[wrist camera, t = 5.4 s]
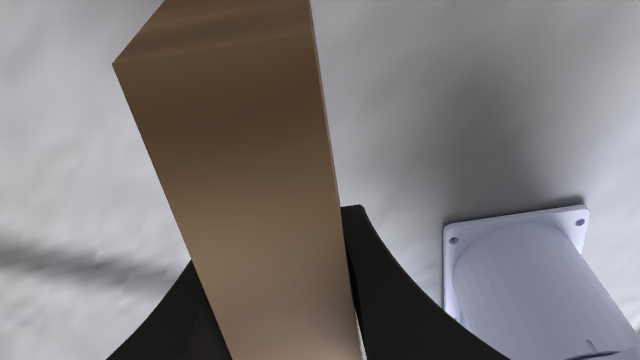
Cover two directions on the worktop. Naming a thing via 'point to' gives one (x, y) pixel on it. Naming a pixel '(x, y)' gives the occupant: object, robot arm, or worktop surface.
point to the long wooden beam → (248, 169)
